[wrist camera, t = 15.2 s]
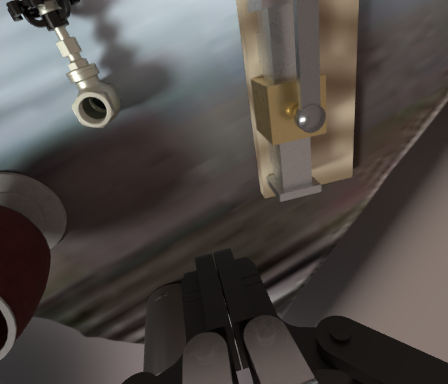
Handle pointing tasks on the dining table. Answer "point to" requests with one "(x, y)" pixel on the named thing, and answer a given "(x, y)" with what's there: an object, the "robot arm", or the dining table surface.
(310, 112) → the valve lever
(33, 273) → the mate gourd
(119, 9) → the dining table surface
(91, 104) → the valve
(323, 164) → the valve board
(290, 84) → the pipe valve
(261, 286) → the robot arm
